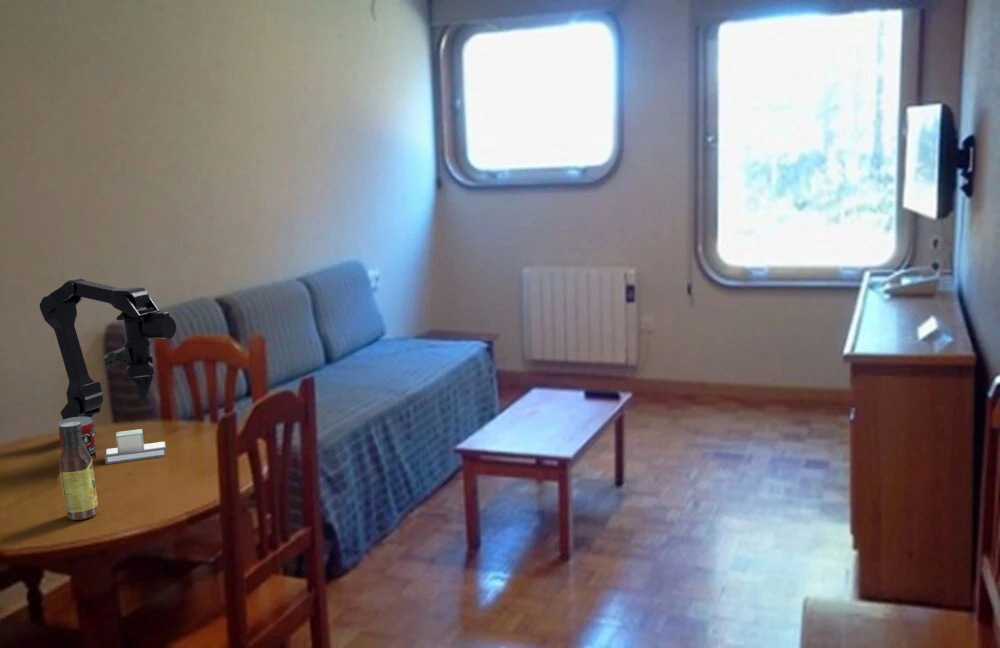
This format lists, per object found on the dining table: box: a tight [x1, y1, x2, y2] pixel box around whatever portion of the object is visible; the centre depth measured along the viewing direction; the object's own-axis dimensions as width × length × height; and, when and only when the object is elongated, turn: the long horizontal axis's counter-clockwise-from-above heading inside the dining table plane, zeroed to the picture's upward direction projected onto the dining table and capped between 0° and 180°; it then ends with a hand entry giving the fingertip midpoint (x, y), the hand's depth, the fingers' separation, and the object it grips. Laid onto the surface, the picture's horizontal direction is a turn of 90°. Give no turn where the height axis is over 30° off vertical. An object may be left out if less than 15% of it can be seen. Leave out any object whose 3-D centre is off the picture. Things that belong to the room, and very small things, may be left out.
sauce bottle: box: [58, 422, 99, 521], centre depth 193 cm, size 7×6×20 cm
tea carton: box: [115, 428, 145, 453], centre depth 231 cm, size 4×6×6 cm
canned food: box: [57, 417, 97, 462], centre depth 229 cm, size 8×8×11 cm
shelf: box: [104, 441, 168, 465], centre depth 234 cm, size 13×14×3 cm
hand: (143, 396), depth 241 cm, fingers open, 9 cm apart
